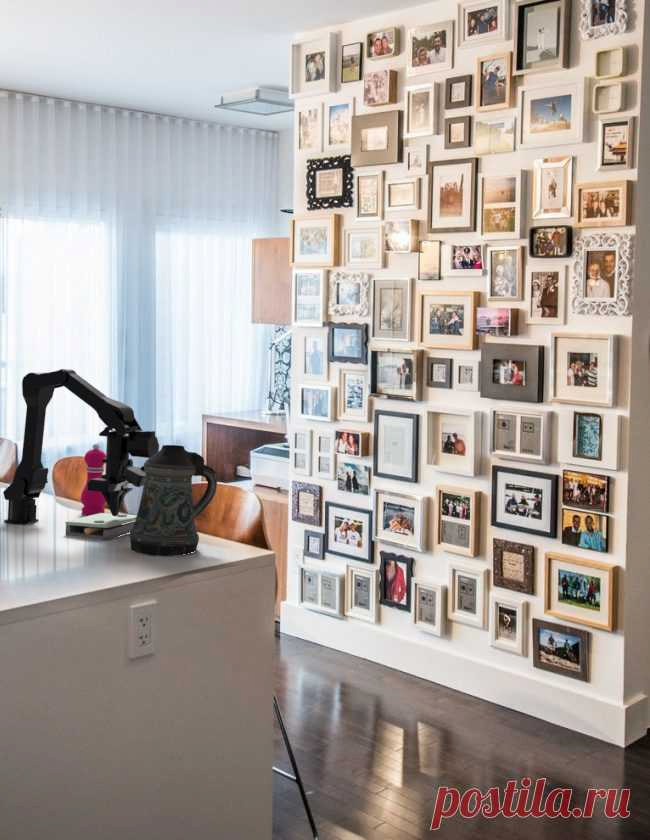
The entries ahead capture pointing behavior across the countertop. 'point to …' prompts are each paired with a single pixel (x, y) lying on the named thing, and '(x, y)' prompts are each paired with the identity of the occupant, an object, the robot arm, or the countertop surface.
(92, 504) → the pepper mill
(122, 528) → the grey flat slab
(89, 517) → the cover
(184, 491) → the beer stein
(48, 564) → the countertop surface
